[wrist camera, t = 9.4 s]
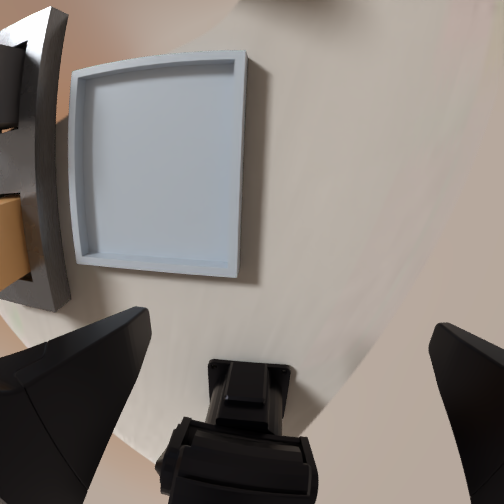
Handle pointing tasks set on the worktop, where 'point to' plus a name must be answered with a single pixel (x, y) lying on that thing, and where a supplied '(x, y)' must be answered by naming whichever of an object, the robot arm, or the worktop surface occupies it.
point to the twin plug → (10, 85)
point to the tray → (159, 162)
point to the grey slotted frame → (36, 160)
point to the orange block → (12, 242)
